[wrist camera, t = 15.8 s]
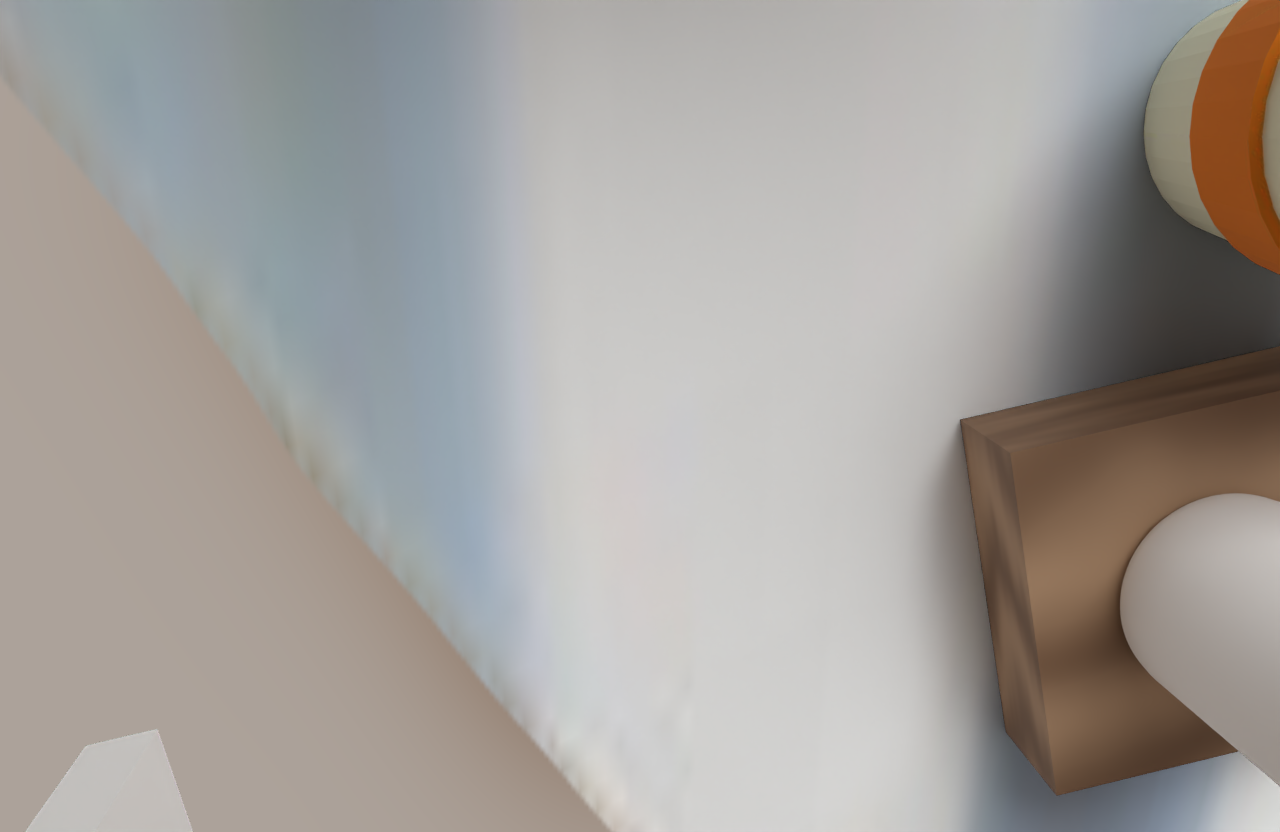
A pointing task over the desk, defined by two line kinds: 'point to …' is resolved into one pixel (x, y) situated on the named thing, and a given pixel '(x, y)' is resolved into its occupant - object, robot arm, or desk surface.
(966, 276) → the desk surface
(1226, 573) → the pill bottle
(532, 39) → the desk surface
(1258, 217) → the reusable coffee cup
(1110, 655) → the walnut base
